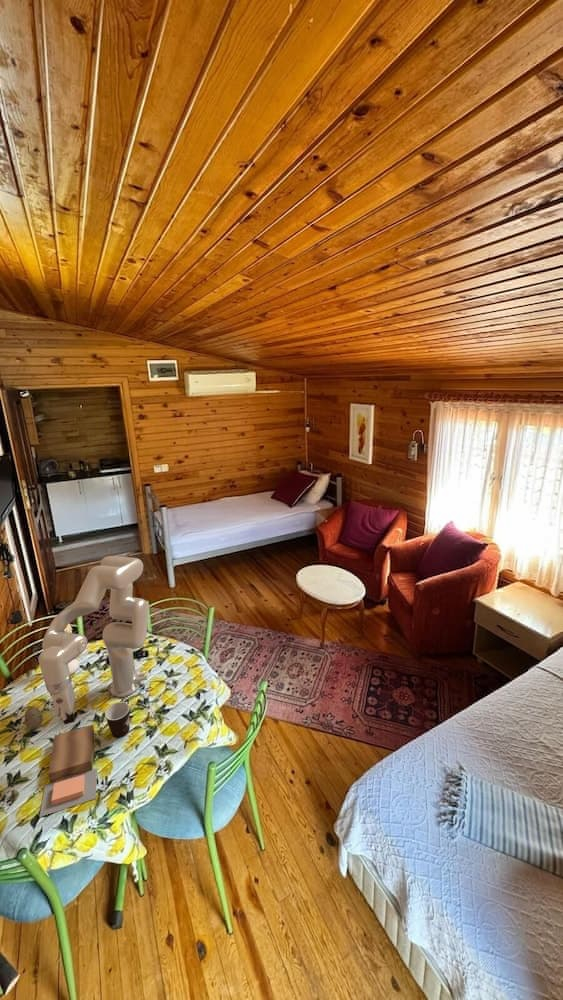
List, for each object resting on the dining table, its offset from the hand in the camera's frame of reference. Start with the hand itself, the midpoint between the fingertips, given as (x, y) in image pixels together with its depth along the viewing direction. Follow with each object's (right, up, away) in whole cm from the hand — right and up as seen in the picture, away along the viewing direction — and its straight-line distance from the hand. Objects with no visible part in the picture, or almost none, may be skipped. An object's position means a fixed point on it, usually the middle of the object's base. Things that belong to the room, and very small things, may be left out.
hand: (69, 721), depth 143 cm
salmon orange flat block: (+5, -16, -10) cm, 19 cm away
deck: (0, -14, +3) cm, 15 cm away
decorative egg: (-21, -11, +15) cm, 28 cm away
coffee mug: (+14, -11, +14) cm, 22 cm away
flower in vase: (-25, -1, +45) cm, 52 cm away
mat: (+5, -18, -9) cm, 21 cm away
